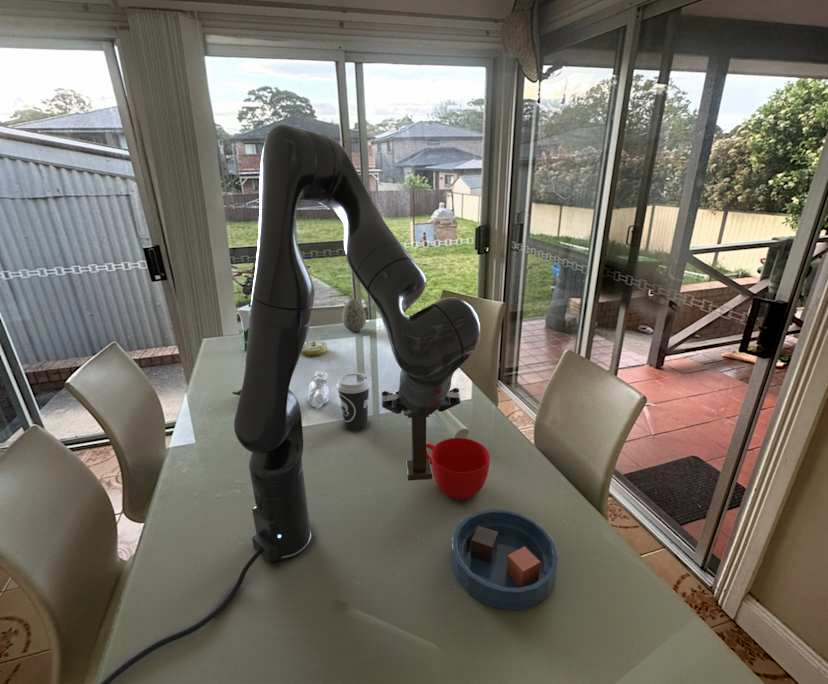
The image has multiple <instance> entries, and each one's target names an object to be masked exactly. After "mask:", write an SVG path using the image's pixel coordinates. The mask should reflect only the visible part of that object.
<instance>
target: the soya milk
mask: <svg viewBox="0 0 828 684" xmlns="http://www.w3.org/2000/svg"><path fill="white" fill-rule="evenodd" d="M247 302H248V304H246V305H244V306H241V307H240V308H238V309H236V311H237V313H238V316H239V318H240V322H241V329H242V335H243V344H244V345H243V346H244V352H246V351H247V340H248V331H249V317H250V306H251V299H250V300H248V301H247Z"/></svg>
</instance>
